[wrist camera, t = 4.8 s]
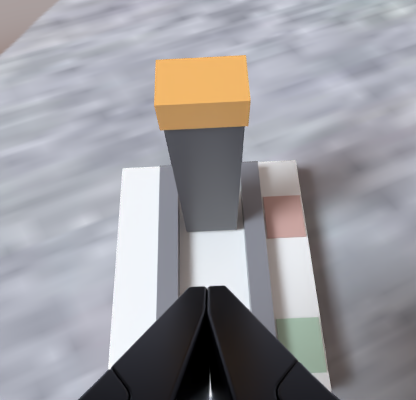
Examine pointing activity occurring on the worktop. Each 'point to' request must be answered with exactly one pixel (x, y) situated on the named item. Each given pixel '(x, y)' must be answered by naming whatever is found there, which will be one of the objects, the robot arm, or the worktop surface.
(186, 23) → the worktop surface
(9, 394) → the worktop surface
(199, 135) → the handle
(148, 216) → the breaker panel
